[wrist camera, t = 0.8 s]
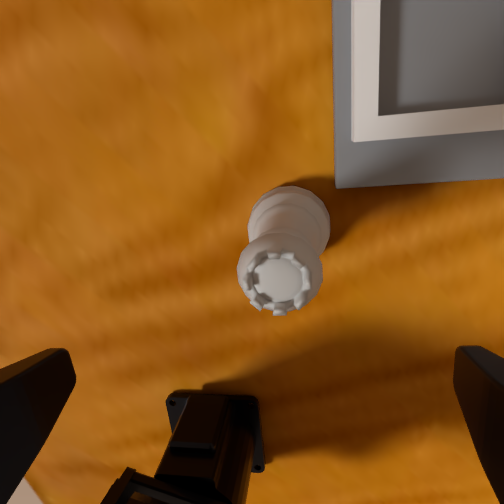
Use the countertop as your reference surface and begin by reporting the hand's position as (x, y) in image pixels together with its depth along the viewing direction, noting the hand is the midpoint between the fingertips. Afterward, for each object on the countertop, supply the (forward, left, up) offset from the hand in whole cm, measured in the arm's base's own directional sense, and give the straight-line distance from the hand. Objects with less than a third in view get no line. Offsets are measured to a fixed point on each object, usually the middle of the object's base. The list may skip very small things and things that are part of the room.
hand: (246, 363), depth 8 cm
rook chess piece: (0, 0, -13) cm, 13 cm away
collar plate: (+8, -7, -13) cm, 17 cm away
